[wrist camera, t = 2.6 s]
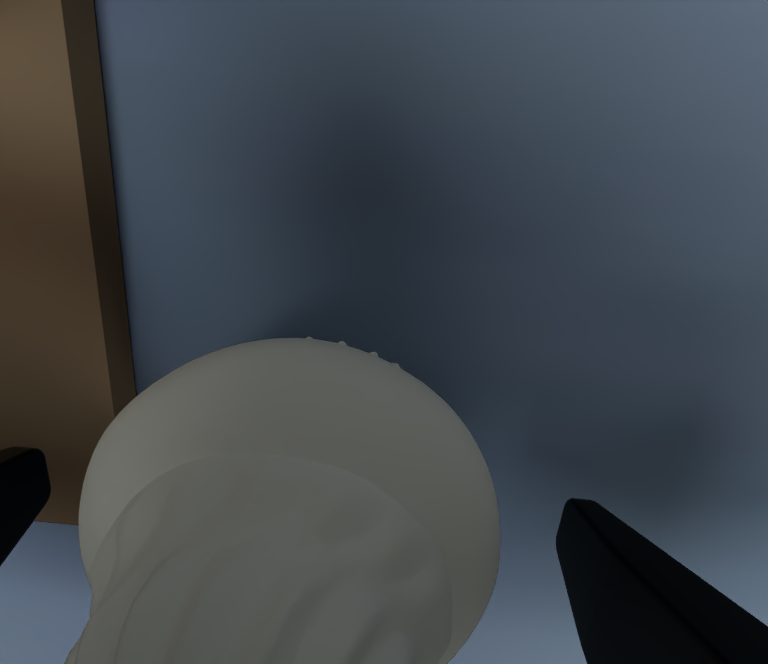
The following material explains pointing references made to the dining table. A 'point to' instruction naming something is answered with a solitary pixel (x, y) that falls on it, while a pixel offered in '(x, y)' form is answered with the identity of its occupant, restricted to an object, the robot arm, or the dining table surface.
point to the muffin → (286, 516)
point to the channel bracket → (58, 247)
